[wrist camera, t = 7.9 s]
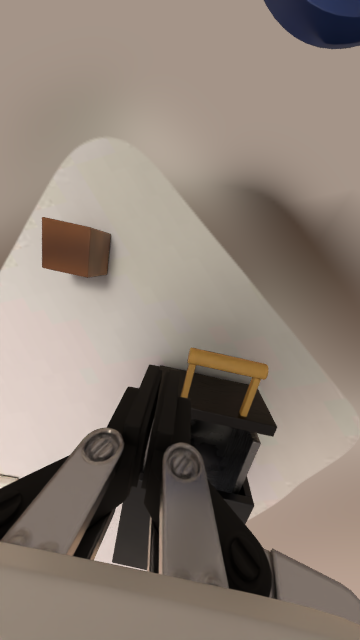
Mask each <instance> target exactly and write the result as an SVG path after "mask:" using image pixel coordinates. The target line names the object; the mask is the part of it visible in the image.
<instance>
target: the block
mask: <svg viewBox="0 0 360 640" xmlns="http://www.w3.org/2000/svg"><path fill="white" fill-rule="evenodd" d="M110 238H111V234H109V233H106V232H103V231H100V230H97V229H94V228H91V227H86V226H82V225H77V224H73V223H68V222H64V221H59V220H55V219H50V218H45V217H42V267H43V268H46V269H51V270H55V271H60V272H64V273H69V274H73V275H78V276H82V277H87V278H88V277H94V276H101V275H107V269H108V259H109V249H110Z"/></svg>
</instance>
